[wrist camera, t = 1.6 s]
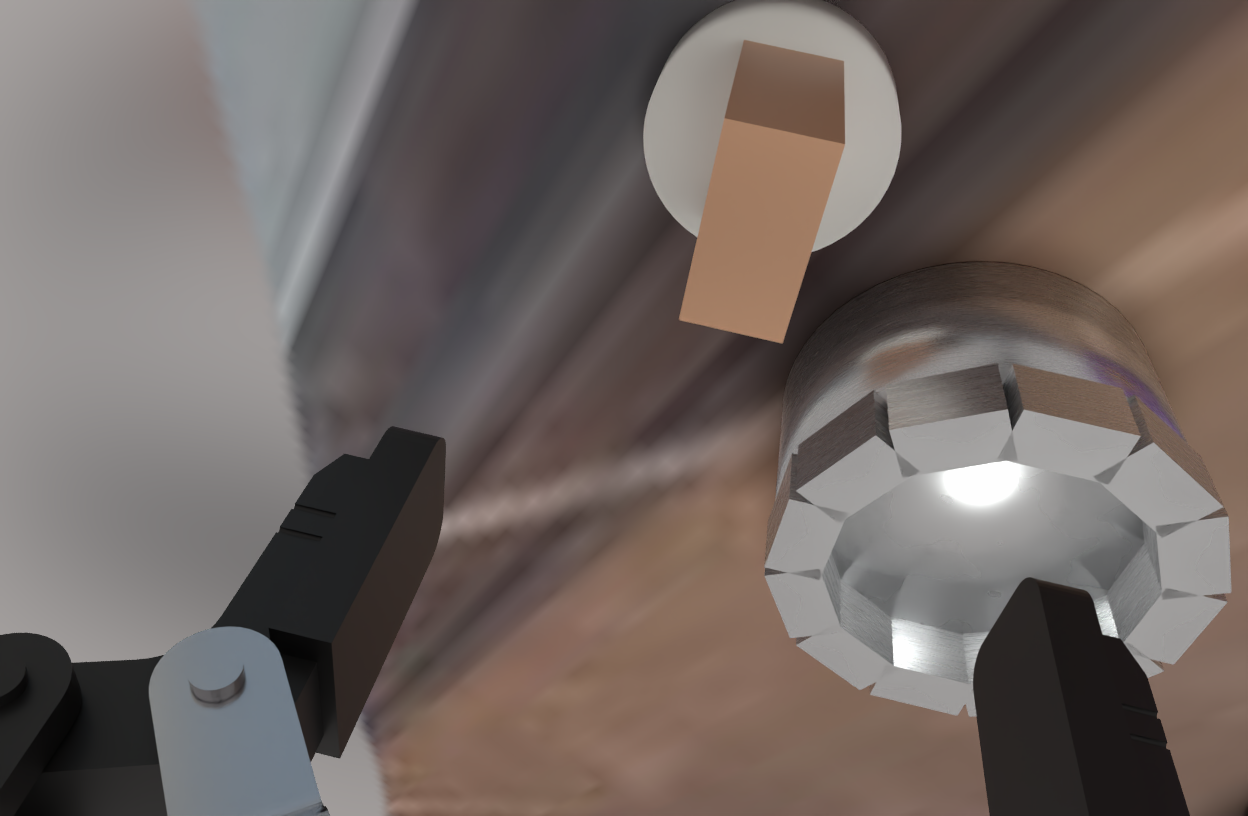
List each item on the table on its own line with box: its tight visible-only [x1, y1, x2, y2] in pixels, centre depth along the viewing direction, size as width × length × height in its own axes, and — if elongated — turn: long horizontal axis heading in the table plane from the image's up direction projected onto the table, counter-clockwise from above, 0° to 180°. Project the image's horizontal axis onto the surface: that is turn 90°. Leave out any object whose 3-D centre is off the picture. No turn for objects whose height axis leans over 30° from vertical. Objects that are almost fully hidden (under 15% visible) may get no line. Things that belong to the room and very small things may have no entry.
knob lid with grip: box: [643, 0, 901, 344], centre depth 23 cm, size 6×6×7 cm
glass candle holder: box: [764, 262, 1231, 717], centre depth 27 cm, size 11×11×7 cm
